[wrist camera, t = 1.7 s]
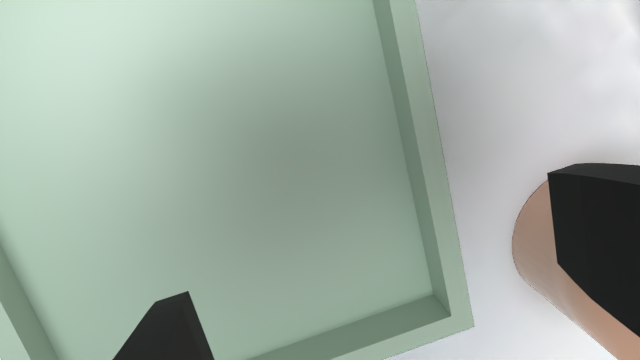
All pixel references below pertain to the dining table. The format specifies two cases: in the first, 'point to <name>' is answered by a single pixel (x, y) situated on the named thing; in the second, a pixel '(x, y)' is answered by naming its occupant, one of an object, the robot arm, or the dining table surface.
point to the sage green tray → (223, 178)
